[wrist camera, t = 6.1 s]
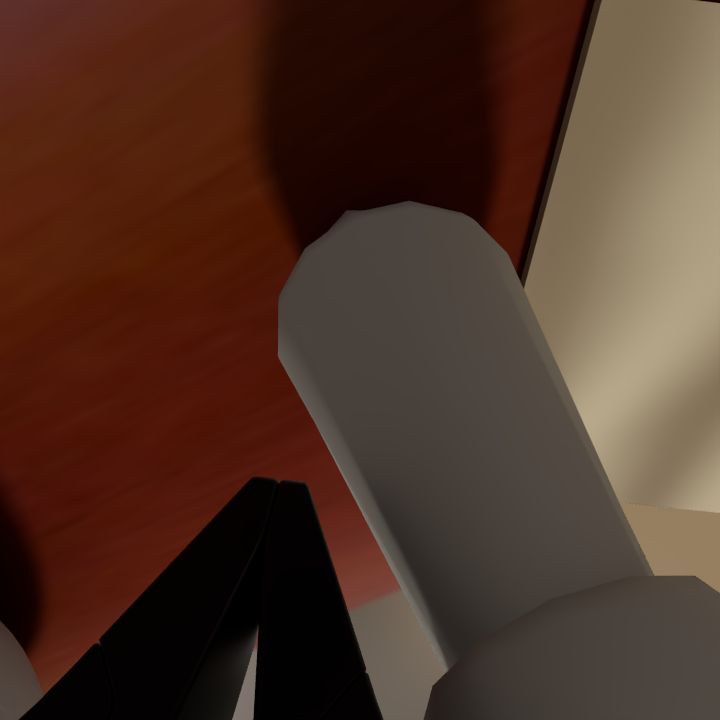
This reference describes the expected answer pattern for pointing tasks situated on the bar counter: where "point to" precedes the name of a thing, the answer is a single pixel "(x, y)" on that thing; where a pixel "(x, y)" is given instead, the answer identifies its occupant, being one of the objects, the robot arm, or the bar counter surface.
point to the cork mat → (639, 249)
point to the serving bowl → (16, 678)
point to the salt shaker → (486, 480)
